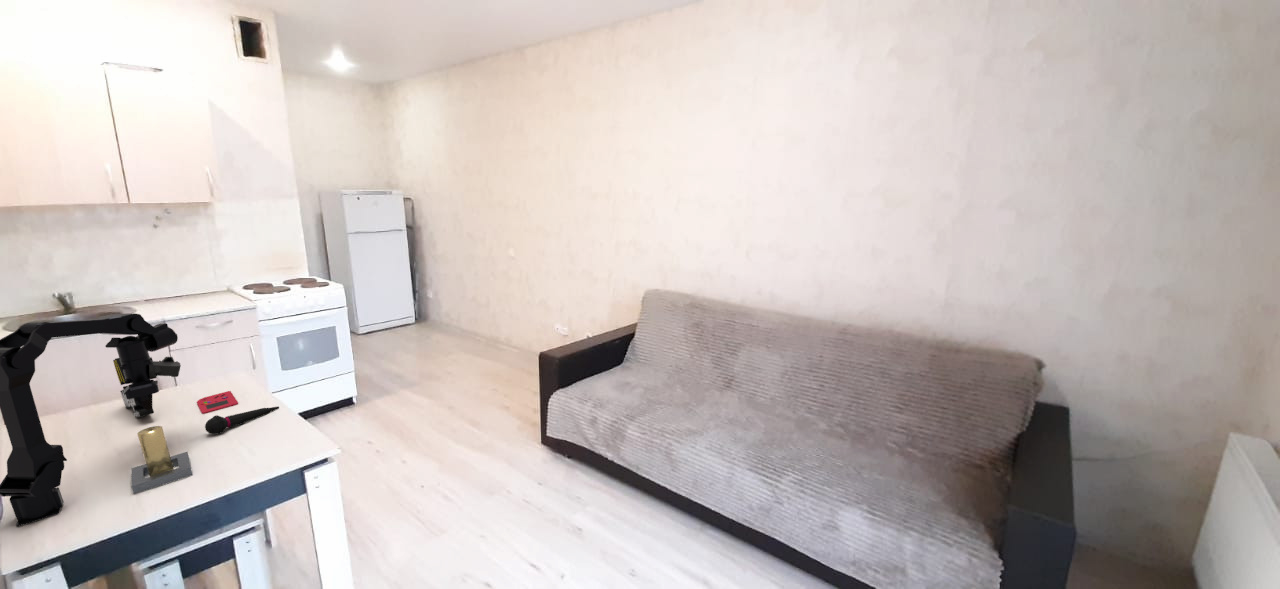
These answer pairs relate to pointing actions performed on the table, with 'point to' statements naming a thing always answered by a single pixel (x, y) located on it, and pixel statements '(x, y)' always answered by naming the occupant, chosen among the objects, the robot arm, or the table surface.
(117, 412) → the table surface
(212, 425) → the microphone
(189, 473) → the frame
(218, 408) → the handheld gaming console
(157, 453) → the ball
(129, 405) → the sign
